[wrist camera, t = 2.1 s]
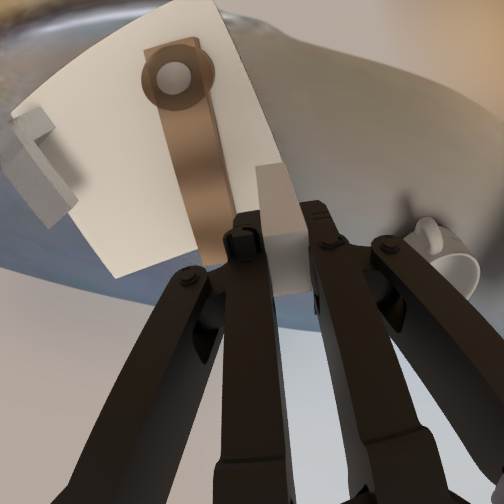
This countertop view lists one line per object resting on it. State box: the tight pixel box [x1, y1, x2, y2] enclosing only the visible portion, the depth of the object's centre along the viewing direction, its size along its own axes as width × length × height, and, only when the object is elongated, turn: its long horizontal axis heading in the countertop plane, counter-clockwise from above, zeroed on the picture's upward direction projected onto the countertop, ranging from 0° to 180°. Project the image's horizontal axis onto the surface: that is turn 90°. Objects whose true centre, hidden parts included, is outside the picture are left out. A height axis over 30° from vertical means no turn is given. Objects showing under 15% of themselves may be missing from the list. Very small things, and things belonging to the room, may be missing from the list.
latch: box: [141, 36, 237, 266], centre depth 26 cm, size 21×6×4 cm, turn 10°
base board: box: [11, 0, 283, 279], centre depth 29 cm, size 24×24×2 cm
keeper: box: [0, 107, 79, 229], centre depth 25 cm, size 4×10×7 cm, turn 30°
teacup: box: [403, 217, 480, 300], centre depth 33 cm, size 14×11×8 cm
